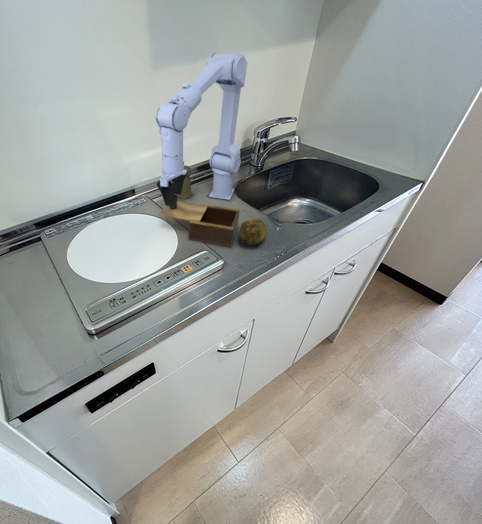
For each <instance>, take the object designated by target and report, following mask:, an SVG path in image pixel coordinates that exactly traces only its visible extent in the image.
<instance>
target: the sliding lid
mask: <svg viewBox="0 0 482 524" xmlns="http://www.w3.org/2000/svg"><path fill="white" fill-rule="evenodd" d="M200 204H201V203H193V202H186V201H181V200H180V201H179V200H178V197H177V195H176V194H174V201H173V205H172V206H167V205H164V207H163V208H162V210H160V212H159V214H158V215H159V216H161V217H166V218H172V219H178V220H185V221H189V222H190V220H192V221H198V222H200V221H201V219H202V217H203V215H204V213H205V212H206V210H207V208H208V206H207V205H208V204H207V205H200Z"/></svg>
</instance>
